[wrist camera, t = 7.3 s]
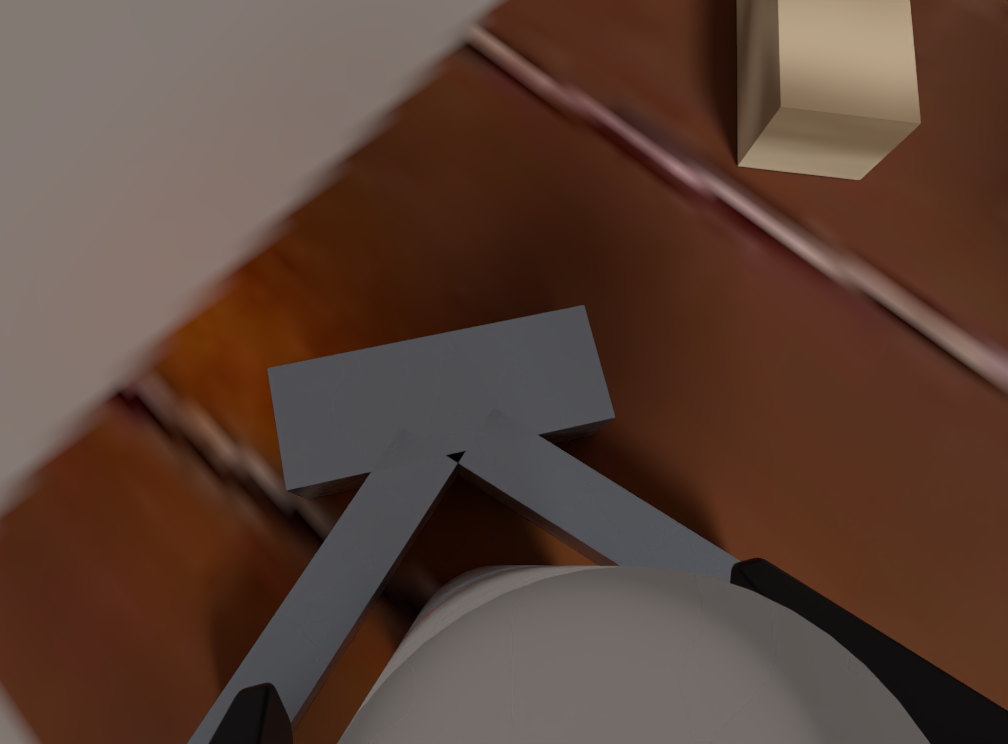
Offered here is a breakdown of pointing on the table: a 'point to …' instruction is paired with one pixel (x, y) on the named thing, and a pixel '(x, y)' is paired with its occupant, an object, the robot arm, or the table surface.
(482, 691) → the grey metallic cylinder
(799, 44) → the beam
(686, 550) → the grey flat branched piece
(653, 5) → the table surface
